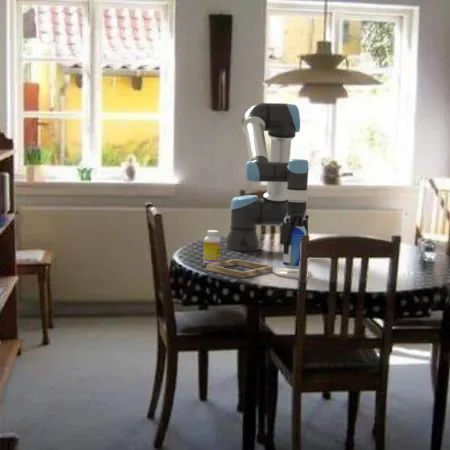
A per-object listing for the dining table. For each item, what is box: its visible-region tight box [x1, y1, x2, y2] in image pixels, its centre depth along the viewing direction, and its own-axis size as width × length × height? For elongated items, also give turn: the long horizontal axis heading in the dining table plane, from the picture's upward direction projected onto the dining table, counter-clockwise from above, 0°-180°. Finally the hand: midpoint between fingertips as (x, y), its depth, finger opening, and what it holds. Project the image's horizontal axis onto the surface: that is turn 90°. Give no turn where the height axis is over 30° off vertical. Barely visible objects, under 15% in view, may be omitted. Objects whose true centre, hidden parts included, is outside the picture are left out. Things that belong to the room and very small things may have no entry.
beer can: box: [282, 226, 307, 269], centre depth 298 cm, size 8×8×16 cm
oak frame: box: [205, 258, 274, 279], centre depth 302 cm, size 18×18×2 cm
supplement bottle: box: [202, 229, 222, 265], centre depth 314 cm, size 7×7×13 cm
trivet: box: [273, 267, 312, 279], centre depth 299 cm, size 14×14×1 cm
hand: (293, 260), depth 299 cm, fingers closed on beer can, 7 cm apart
